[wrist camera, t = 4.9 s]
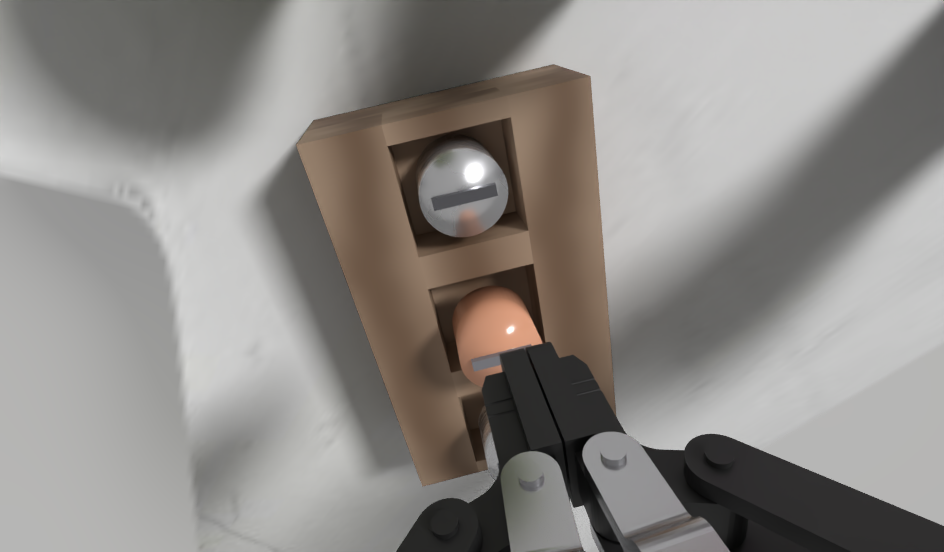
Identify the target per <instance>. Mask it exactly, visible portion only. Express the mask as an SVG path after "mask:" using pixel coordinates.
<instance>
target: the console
mask: <svg viewBox="0 0 944 552" xmlns="http://www.w3.org/2000/svg"><path fill="white" fill-rule="evenodd" d="M452 134H459V135H466V136H469V137H472V138H474V139H476V140H477V141H479V142H480V143H481V144H483V145H484V146H485V147H486V149H487V150H488V151H489V153H490V154H491V156H492V157H493V158H494V160H495V161H496V163H497V164H498V165H499V167H500V168H501V170H502V171H503V173H504V175H505V178H506V180H507V184H508V200H507V204H506V207H505V210H504V212H503V214H502V215H501V217H500V218H499V220H498V221H497V222H496V223H495V224H494V225H493V226H492V227H490V228H489V229H488V230H486V231H484V232H482V233H480V234H478V235H474V236H470V237H454V236H449V235H446V234H444V233H442V232H440V231H438V230H437V229H435V228H434V227H433V226H432V225H431V224H430V223H429V222H428V221H427V219H426V218H425V216H424V214H423V212H422V210H421V207H420V202H419V196H418V190H417V183H416V166H417V162H418V160H419V157H420V156H421V154H422V152H423V151H424V149H425V148H426V147H427V146H428V145H429V144H431V143H432V142H433V141H435V140H436V139H438V138H441V137H443V136H447V135H452ZM296 146H297V149H298V152H299V154H300V157H301V160H302V162H303V165H304V168H305V171H306V173H307V176H308V179H309V181H310V184H311V187H312V189H313V192H314V195H315V198H316V200H317V203H318V206H319V208H320V211H321V214H322V216H323V219H324V222H325V225H326V227H327V230H328V233H329V235H330V238H331V241H332V243H333V246H334V249H335V251H336V254H337V257H338V260H339V262H340V265H341V268H342V270H343V273H344V276H345V278H346V281H347V284H348V287H349V289H350V292H351V295H352V297H353V300H354V303H355V305H356V308H357V311H358V314H359V316H360V319H361V322H362V324H363V327H364V330H365V332H366V335H367V338H368V340H369V343H370V346H371V349H372V351H373V354H374V357H375V359H376V362H377V365H378V367H379V370H380V373H381V376H382V378H383V381H384V384H385V386H386V389H387V392H388V394H389V397H390V400H391V403H392V405H393V408H394V411H395V413H396V416H397V419H398V421H399V424H400V427H401V430H402V432H403V435H404V438H405V440H406V443H407V446H408V448H409V451H410V454H411V456H412V459H413V462H414V465H415V467H416V470H417V473H418V475H419V478H420V481H421V483H422V486H426V485H430V484H434V483H438V482H442V481H446V480H449V479H453V478H457V477H461V476H465V475H469V474H472V473H476V472H480V471H484V470H488V466H487V461H486V457H485V452H484V447H483V443H482V438H481V434H480V429H479V424H478V418H479V414H480V412H481V410H482V408H483V407H484V406H485V403H484V399H483V394H482V387H480V386H478V385H476V384H474V383H472V382H471V381H470V380H469V379H468V378H467V377H466V376H465V375H464V373H463V371H462V369H461V365H460V360H459V355H458V350H457V345H456V340H455V335H454V330H453V325H452V318H453V313H454V310H455V308H456V306H457V304H458V303H459V302H460V300H461V299H462V298H463V297H464V296H466V295H467V294H468V293H470V292H472V291H473V290H476V289H478V288H481V287H485V286H502V287H505V288H508V289H510V290H512V291H514V292H515V293H517V294H518V295H519V296H520V297H521V299H522V300H523V302H524V304H525V306H526V308H527V310H528V312H529V315H530V317H531V319H532V321H533V323H534V325H535V327H536V330H537V332H538V334H539V336H540V338H541V341H542V343H546V342H551V343H552V345H553V347H554V349H555V351H556V353H557V355H558V357H559V358H561V357H566V356H570V355H574V356H576V357H577V358H579V359H580V360H581V361H583V362H584V363H586V364H587V366H588V367H589V369H590V371H591V373H592V374H593V376H594V379H595V380H596V382H597V383H598V385H599V387H600V390H601V391H602V392H603V394H604V396H605V398H606V399H607V401H608V403H609V405H610V407H611V408H612V410H613V412H614V414H615V416H616V408H615V395H614V381H613V368H612V355H611V342H610V329H609V315H608V302H607V289H606V276H605V263H604V249H603V236H602V223H601V210H600V197H599V183H598V170H597V157H596V144H595V131H594V117H593V104H592V91H591V78H590V76H588V75H585V74H582V73H579V72H576V71H572V70H569V69H566V68H563V67H560V66H557V65H549V66H545V67H541V68H536V69H532V70H528V71H524V72H519V73H515V74H511V75H506V76H502V77H498V78H493V79H489V80H485V81H481V82H476V83H472V84H468V85H463V86H459V87H455V88H451V89H446V90H442V91H438V92H433V93H429V94H425V95H421V96H416V97H412V98H408V99H403V100H399V101H395V102H390V103H386V104H382V105H378V106H373V107H369V108H365V109H360V110H356V111H352V112H348V113H343V114H339V115H335V116H330V117H326V118H322V119H317V120H313V122H312V123H311V125H310V126H309V128H308V129H307V130H306V132H305V133H304V135H303V136H302V137H301V139H300V140H299V142H298V143H297V145H296Z"/></svg>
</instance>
